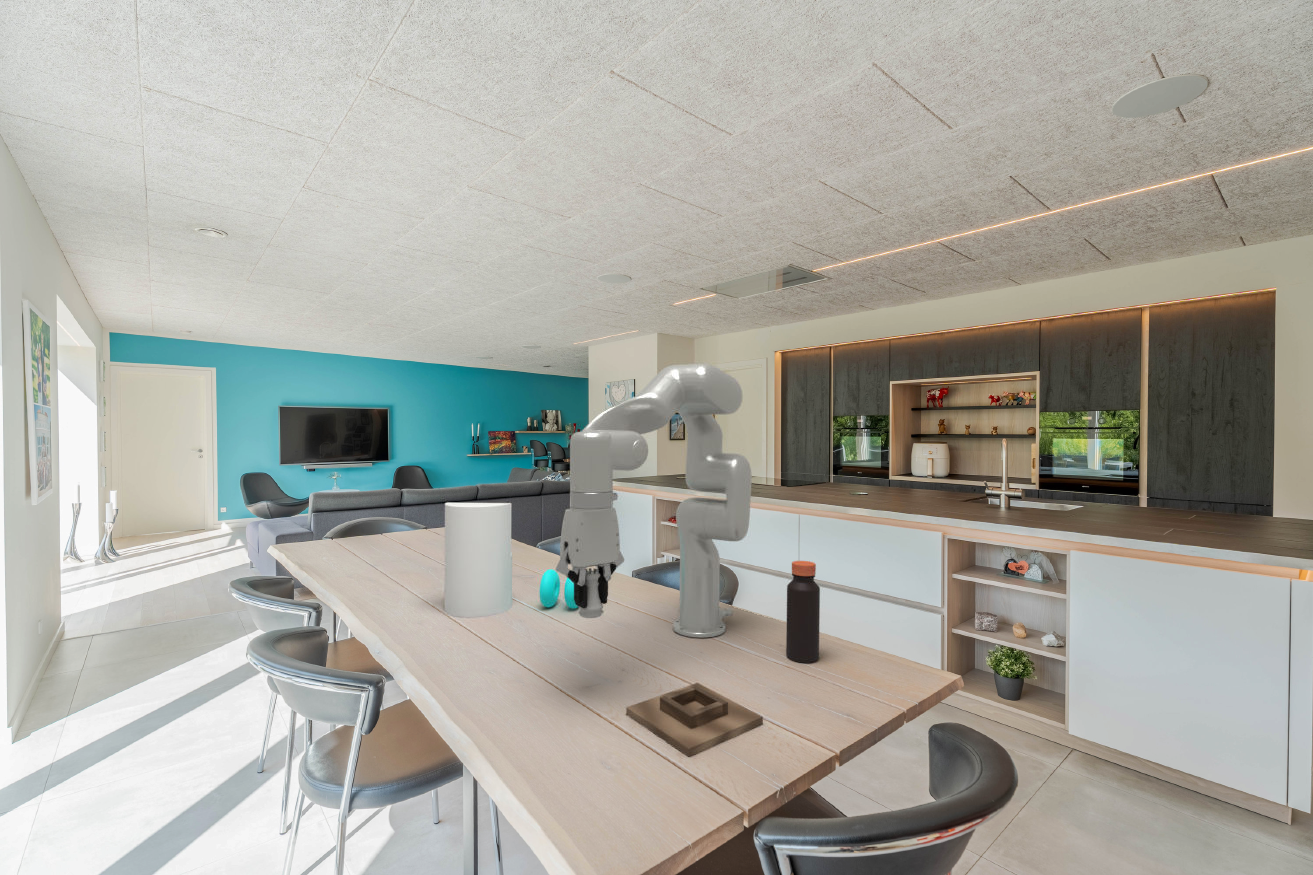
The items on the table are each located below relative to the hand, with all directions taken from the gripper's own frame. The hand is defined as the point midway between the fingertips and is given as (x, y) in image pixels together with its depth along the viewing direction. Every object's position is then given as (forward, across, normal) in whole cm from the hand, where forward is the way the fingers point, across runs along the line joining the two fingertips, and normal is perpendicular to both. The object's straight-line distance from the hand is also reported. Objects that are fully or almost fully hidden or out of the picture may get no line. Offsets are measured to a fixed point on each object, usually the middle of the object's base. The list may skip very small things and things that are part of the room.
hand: (591, 602), depth 104 cm
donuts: (+18, -21, -50) cm, 57 cm away
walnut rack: (+17, -10, +17) cm, 26 cm away
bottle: (+17, -46, +11) cm, 50 cm away
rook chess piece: (+2, 0, 0) cm, 2 cm away
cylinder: (+17, -3, -63) cm, 66 cm away
